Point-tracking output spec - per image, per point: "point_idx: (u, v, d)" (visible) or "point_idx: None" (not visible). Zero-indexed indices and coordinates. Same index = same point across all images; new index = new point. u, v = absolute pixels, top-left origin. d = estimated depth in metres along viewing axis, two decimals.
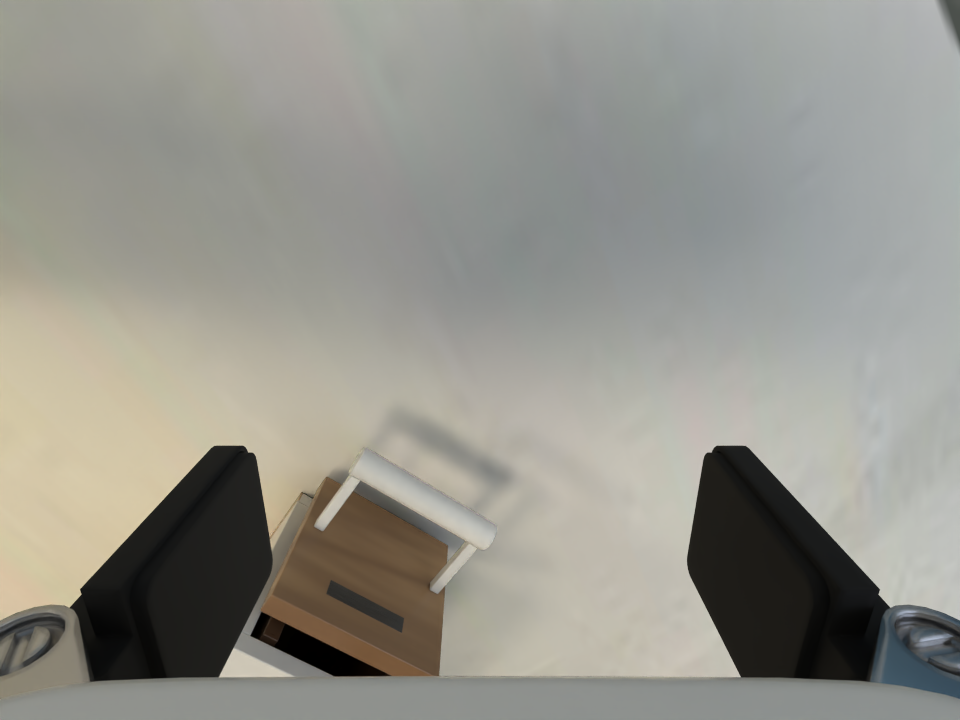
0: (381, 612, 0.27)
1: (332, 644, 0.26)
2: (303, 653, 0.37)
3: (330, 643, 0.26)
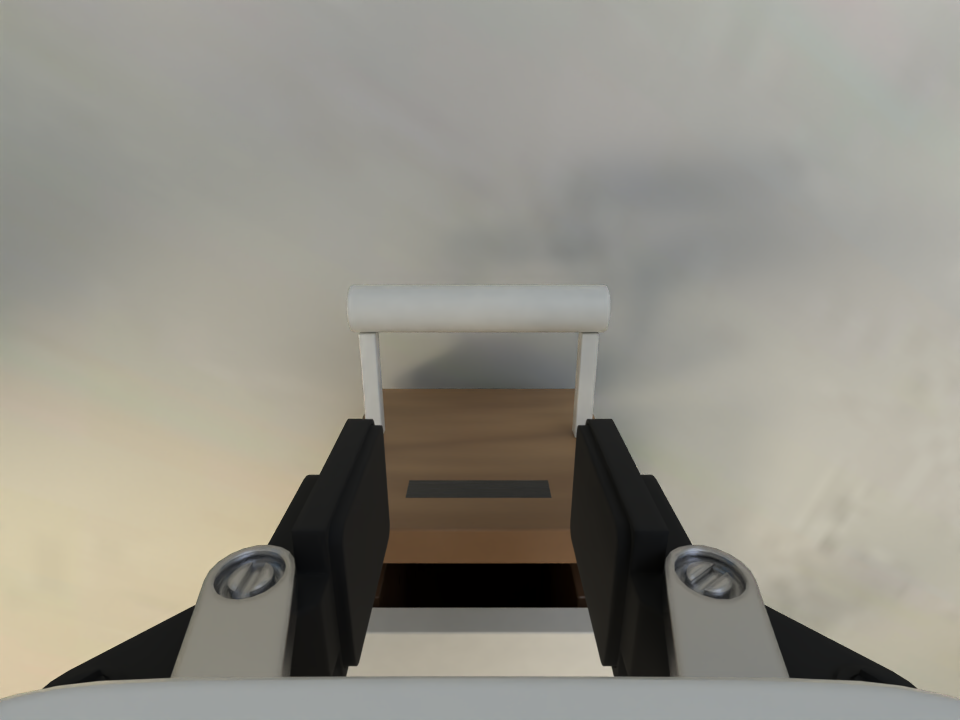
0: (506, 486, 0.17)
1: (449, 559, 0.15)
2: None
3: (445, 559, 0.15)
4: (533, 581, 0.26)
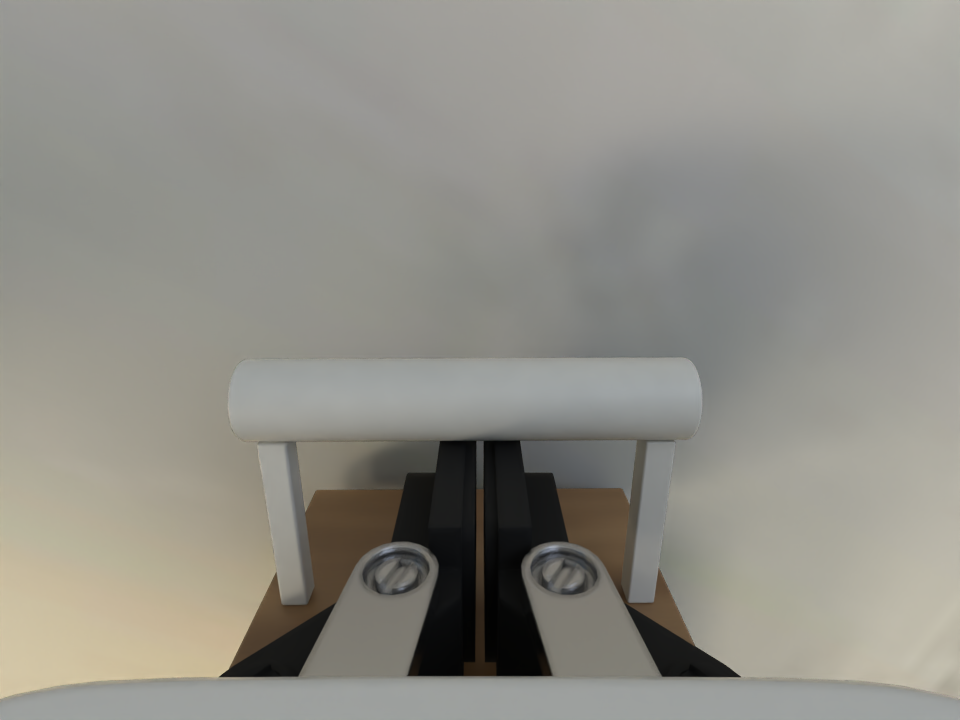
0: None
1: None
2: None
3: None
4: None
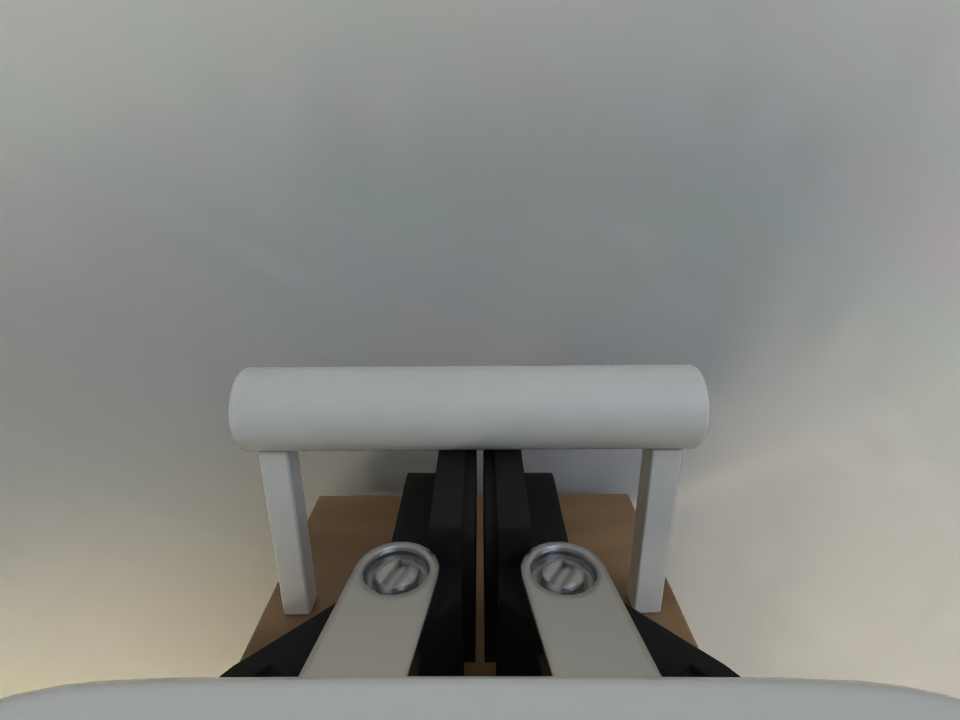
0: None
1: None
2: None
3: None
4: None
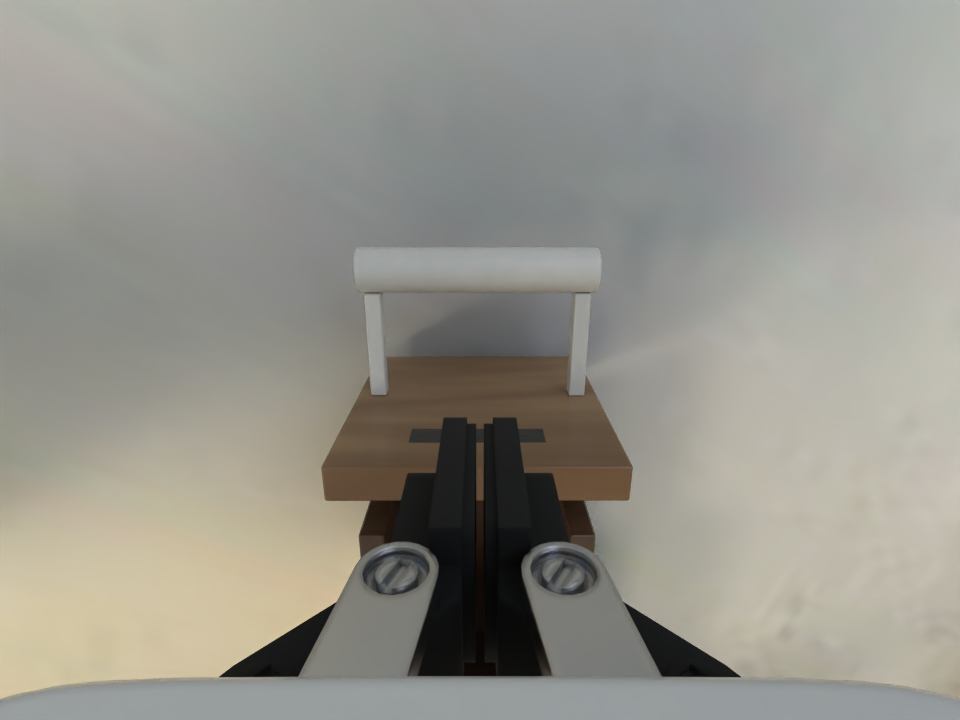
0: None
1: None
2: None
3: None
4: None
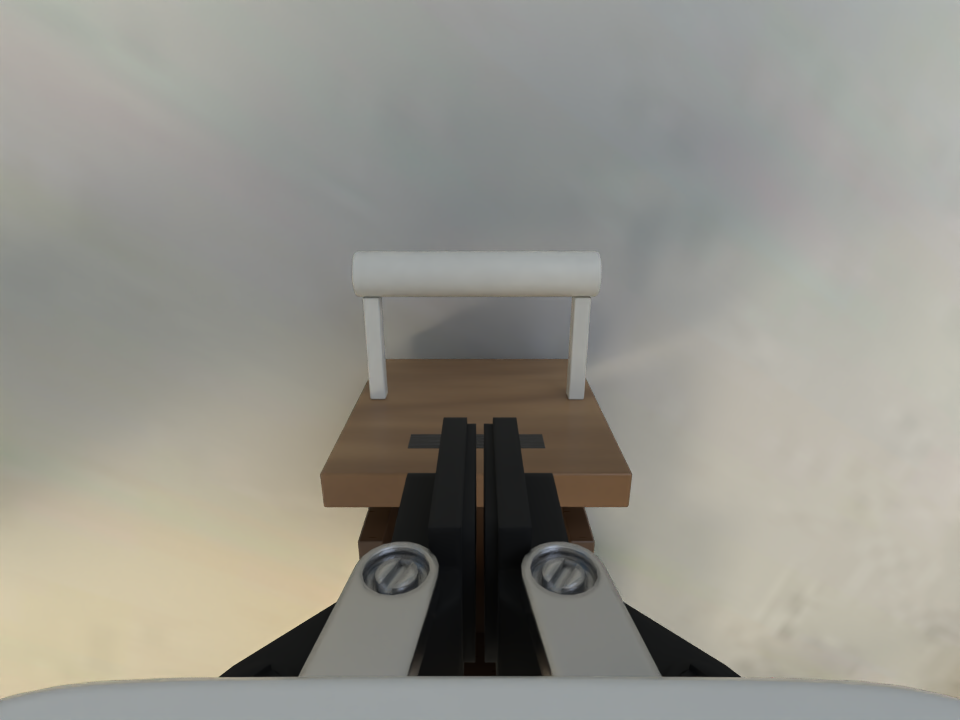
0: None
1: None
2: None
3: None
4: None
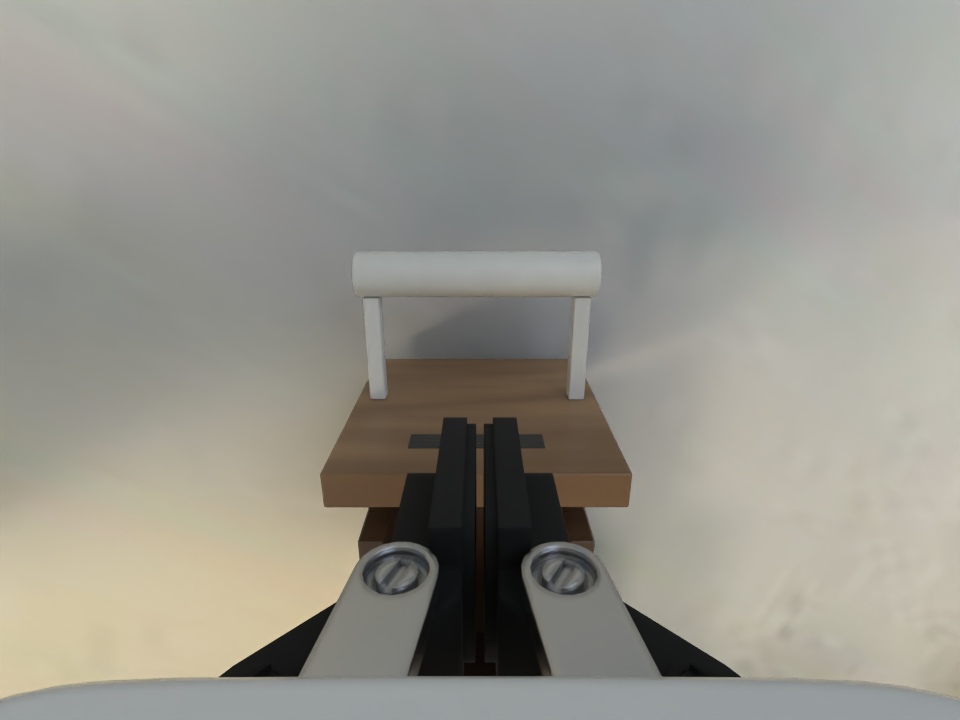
0: None
1: None
2: None
3: None
4: None
